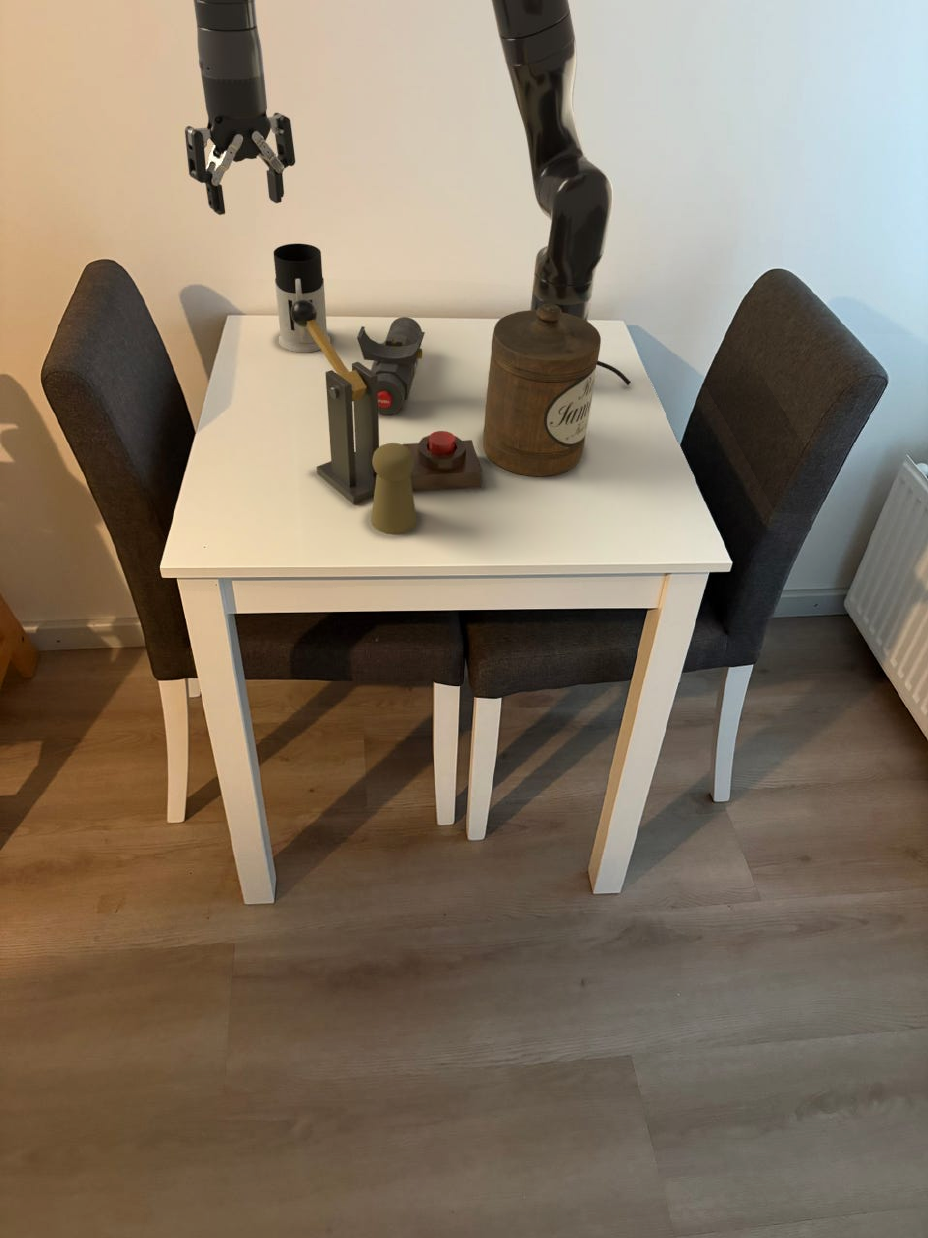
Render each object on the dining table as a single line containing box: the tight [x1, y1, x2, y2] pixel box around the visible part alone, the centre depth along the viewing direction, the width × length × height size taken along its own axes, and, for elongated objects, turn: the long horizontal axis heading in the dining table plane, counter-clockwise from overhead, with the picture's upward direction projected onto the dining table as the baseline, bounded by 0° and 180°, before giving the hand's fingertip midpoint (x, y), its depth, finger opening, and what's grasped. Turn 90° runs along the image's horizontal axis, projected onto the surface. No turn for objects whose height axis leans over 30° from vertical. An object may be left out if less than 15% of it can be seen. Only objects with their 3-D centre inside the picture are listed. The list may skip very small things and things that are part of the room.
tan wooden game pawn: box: [370, 442, 418, 535], centre depth 114 cm, size 6×6×11 cm
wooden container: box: [482, 303, 602, 477], centre depth 124 cm, size 15×15×22 cm
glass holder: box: [272, 243, 331, 353], centre depth 145 cm, size 9×14×15 cm, turn 8°
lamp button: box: [428, 430, 456, 455], centre depth 122 cm, size 4×4×2 cm
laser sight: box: [356, 316, 426, 416], centre depth 140 cm, size 10×22×10 cm, turn 174°
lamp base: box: [402, 434, 483, 492], centre depth 124 cm, size 10×8×4 cm
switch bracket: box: [316, 361, 380, 505], centre depth 118 cm, size 9×7×16 cm
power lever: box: [290, 300, 367, 402], centre depth 114 cm, size 15×3×3 cm
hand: (248, 206), depth 120 cm, fingers open, 8 cm apart
